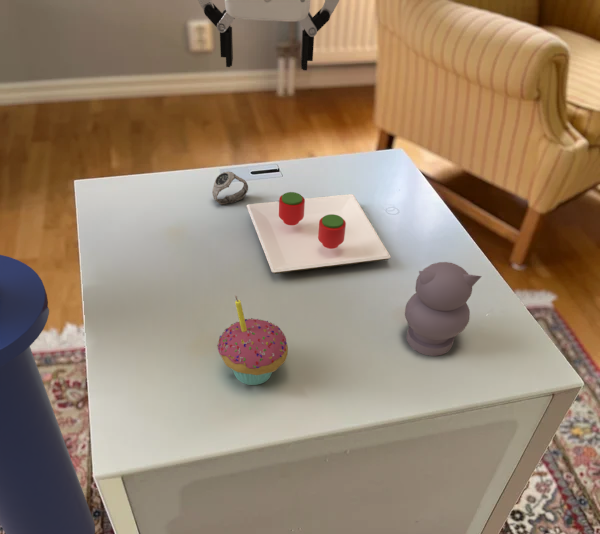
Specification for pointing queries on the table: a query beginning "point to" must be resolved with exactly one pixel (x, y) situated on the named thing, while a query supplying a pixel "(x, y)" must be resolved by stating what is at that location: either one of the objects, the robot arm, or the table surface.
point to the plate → (316, 235)
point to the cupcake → (252, 348)
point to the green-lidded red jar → (291, 208)
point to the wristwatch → (224, 182)
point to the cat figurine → (438, 308)
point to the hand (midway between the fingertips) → (266, 64)
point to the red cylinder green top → (331, 231)
